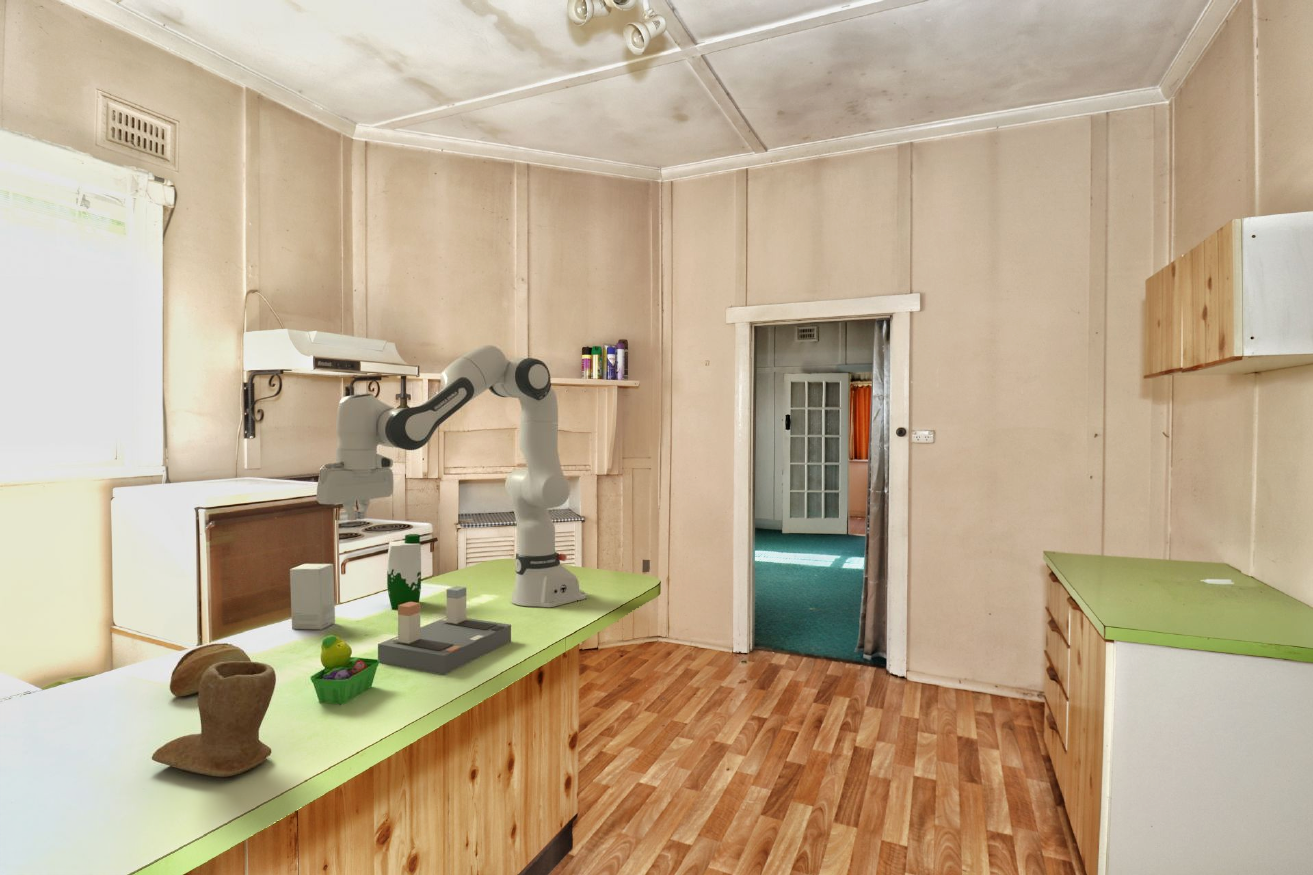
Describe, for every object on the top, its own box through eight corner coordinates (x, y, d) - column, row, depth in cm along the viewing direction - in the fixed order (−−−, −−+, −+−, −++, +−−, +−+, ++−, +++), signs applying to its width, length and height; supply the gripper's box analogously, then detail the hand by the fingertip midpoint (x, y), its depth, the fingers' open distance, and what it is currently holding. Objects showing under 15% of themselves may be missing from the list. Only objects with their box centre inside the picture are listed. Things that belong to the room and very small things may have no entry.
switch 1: (409, 636, 151) (409, 601, 151) (420, 638, 150) (420, 603, 150) (397, 641, 148) (398, 605, 147) (408, 643, 146) (408, 607, 146)
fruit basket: (344, 708, 123) (344, 647, 123) (302, 703, 125) (302, 643, 125) (381, 684, 135) (382, 628, 134) (342, 680, 136) (342, 625, 136)
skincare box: (335, 623, 175) (335, 563, 174) (320, 630, 168) (320, 568, 168) (305, 621, 176) (305, 562, 175) (289, 629, 169) (289, 567, 169)
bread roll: (155, 696, 128) (154, 654, 128) (232, 670, 141) (231, 632, 141) (187, 705, 124) (187, 662, 124) (263, 677, 138) (263, 639, 137)
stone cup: (293, 752, 107) (293, 658, 106) (222, 791, 95) (223, 686, 95) (223, 736, 112) (223, 647, 111) (148, 771, 100) (148, 671, 100)
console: (450, 631, 169) (450, 612, 169) (511, 640, 162) (511, 621, 162) (377, 662, 147) (377, 640, 147) (444, 674, 140) (444, 651, 140)
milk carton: (422, 607, 191) (422, 537, 190) (388, 610, 187) (388, 538, 186) (419, 599, 199) (419, 532, 198) (386, 602, 195) (386, 534, 194)
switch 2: (456, 618, 166) (456, 586, 166) (466, 619, 165) (466, 587, 164) (446, 622, 162) (446, 589, 162) (456, 623, 161) (456, 590, 161)
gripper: (330, 464, 150) (330, 526, 150) (398, 460, 169) (397, 515, 169) (309, 463, 152) (309, 524, 152) (378, 459, 171) (378, 513, 171)
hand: (356, 519), depth 161 cm, fingers closed
